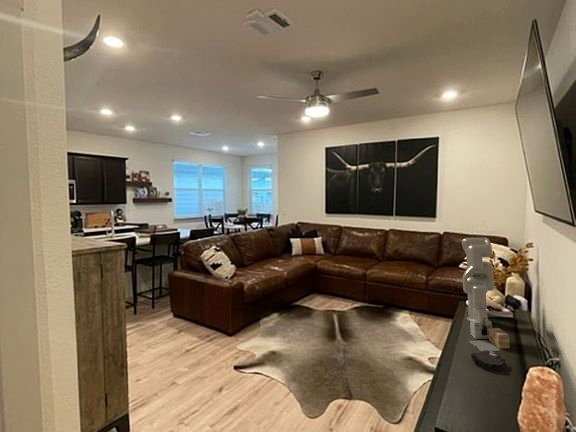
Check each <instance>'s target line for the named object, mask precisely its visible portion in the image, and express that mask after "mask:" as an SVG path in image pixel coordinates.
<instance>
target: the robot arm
mask: <svg viewBox="0 0 576 432" xmlns="http://www.w3.org/2000/svg"><path fill="white" fill-rule="evenodd" d="M461 246H462V249H463V251H464V253H465V256H466V270H465V271H464V273H463V275H462V289H463V292H464V293H465V294H467V302H468V303H467V304H468V311H467V314H468V316H466V320H467V321H469V322H470V319H474V320H476V321H478V322H479V324H480V325H481V326H482V329H481V331H482V335H487V329H488V326H489V325H488V320H489V319H488V318H489V317H488V310H487V307H488V306H487V305H488V304H487V294H488V292H491V291H494V289H495V279H494V278H495V277H494V269H493V268H494V267H493V265H492V263H491V262H489V261H484V260H483V258H491V257H492V256H493V248H492V244H491V240H490V238H488V237H466V238H463V239H462V240H461ZM469 274H472V275H480V277H469ZM483 323H485V324H483ZM483 325H485V326H484V327H483Z"/></svg>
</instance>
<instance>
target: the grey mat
mask: <svg viewBox="0 0 576 432" xmlns="http://www.w3.org/2000/svg"><path fill="white" fill-rule="evenodd" d="M468 342H469V343H470V344H471V345H472V344H473V345H474V346H473V345H472V346H473V347H475V346H477V348H478V349H479V350H478V349H477V348H476V349H477V350H478V351H479V352H482V351H484V350H488V351H492V352H500V351H501V349H500V348H498V347H496V346H495V345H494V344H492V343H491V342H490V341H489V340H487V339H486V340H485V339H482V340H481V339H480V340H468Z"/></svg>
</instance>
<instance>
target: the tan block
mask: <svg viewBox="0 0 576 432" xmlns="http://www.w3.org/2000/svg"><path fill="white" fill-rule="evenodd" d="M488 342H490V343H491V344H493V345H494V346H495V347H497V348H498V349H510V348H511V347H510V345H511V344H510V334H509V333H507V332H505V331H504V330H503V329H501V328H499V327H495V328H493V327H492V328H490V329H489V339H488Z"/></svg>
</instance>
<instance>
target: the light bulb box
mask: <svg viewBox="0 0 576 432" xmlns="http://www.w3.org/2000/svg"><path fill="white" fill-rule="evenodd" d="M492 323H493V322H492V321H491V320H489V319H488V325H489V326H488V329H487V335H482V331H481V329H482V326H481V325H480V324H479V322H478V321H476V320H474V319H470V321H469V325H470V327H469V328H470V336H471V335H472V336H473V337H472V336H471V337H472V338H474V339H475V340H477V339H478V340H481V339H482V340H485V339H486V340H487V339H488V340H489V329H490V328H493V327H492V326H493V325H492ZM483 324H485V323H483ZM484 326H485V325H483V327H484Z"/></svg>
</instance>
